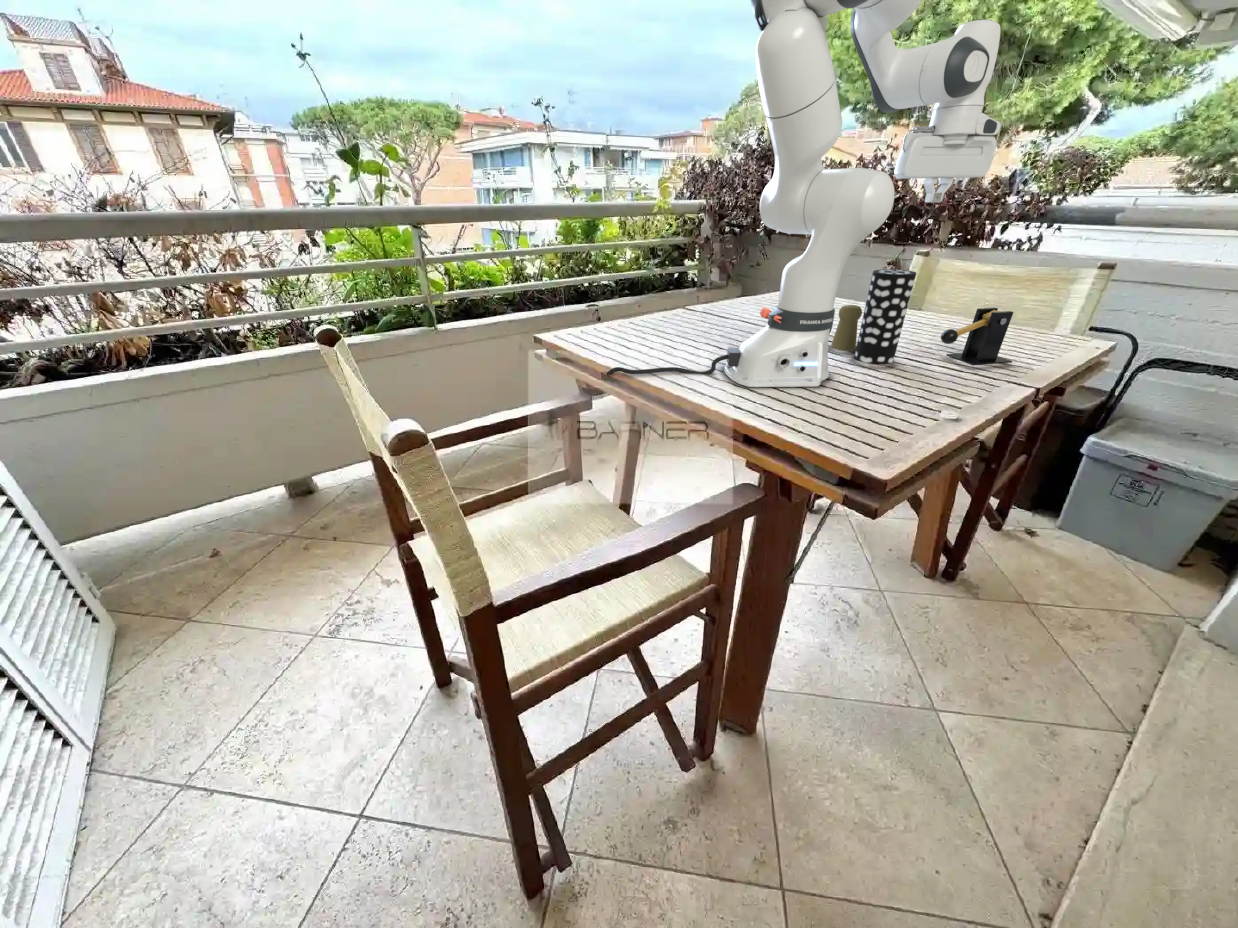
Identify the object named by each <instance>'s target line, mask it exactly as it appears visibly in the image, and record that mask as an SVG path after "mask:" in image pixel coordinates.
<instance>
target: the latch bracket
mask: <svg viewBox="0 0 1238 928" xmlns="http://www.w3.org/2000/svg"><path fill="white" fill-rule="evenodd" d="M993 310H996V311H999V308H998V307H981V308H979V307H978V308H976V311H975V313H974V314H975V315H974V317H973V320H972V323H971V324H973V323H975V322H977V321H980V320H982V315H984V314H986V313H988V312H991V311H993ZM1013 315H1014V311H1012V310H1007V311H1000V312H992V314H991V316H990V319H989V322H988V325H987V326H981V327H979V328H976V329H974V330H972V331H969V332H968V335H967V337H966V338H967V339H966V342H965V345H964V347H963V350H962V352H957V353H955V352H954V353H946V354H945V356H947V357H949V358H952V359H954V360H957V361H960V362H961V363H965V364H968V365H970V366H985V365H995V364H996V365H997V364H1008V363H1010V364H1011V363H1013V360H1010V359H1008V358H1005V357H1002V356H999V353H1000V350H1001V348H1002V345H1003V342H1004V340H1005V337H1006V334H1007V332H1008V329H1009V326H1010V323H1011V321H1012V317H1013Z"/></svg>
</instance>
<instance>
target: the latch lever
mask: <svg viewBox="0 0 1238 928" xmlns="http://www.w3.org/2000/svg"><path fill="white" fill-rule="evenodd" d="M992 312H1001V311H999V310H997V311H996V310H993V311H991V312H988V313H986V314H984V315H982V320H980V321H977V322H975V323H973V322H972V323H973V324H972V323H970V324H968V325H965V326H963V327H961V328H958V329H952V328H948V329H945V330H944V331H943V332H942V333H941V335H940V341H941V342H942V343H943V344H945V345H950V344H954V343H955V342H956V341H957V340H958V338H959V337H960V336H962V335H964V334H966V333H969V332H970V331H972V330H974V329H976V328H979V327H981V326H987V325H988V322H989V319H990V316H991V314H992Z"/></svg>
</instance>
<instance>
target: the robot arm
mask: <svg viewBox="0 0 1238 928" xmlns="http://www.w3.org/2000/svg"><path fill="white" fill-rule="evenodd" d="M921 2H922V0H750V4H751V5H750V6H751V9H752V13H753V15H754V21H755V24H756V26H757V27H758V30H759V31H760V32H761V33H760V35H759V37H758V39H757V43H756V46H755V64H756V75H757V82H758V89H759V95H760V99H761V104H762V109H763V112H764V117H765V120H766V124H767V128H768V132H769V136H770V137H769V138H770V140H771V145H772V150H773V156H774V170H773V174H772V177H771V179H770V180H769V181H768V182H767V184H766V185H765V187H764V189H763V190H762V193H761V196H760V200H759V214H760V215H759V216H760V218H761V219H760V220H761V221H762V223H763V224H764V226H765V227H766V228H768V229H771V230H775V231H777V232H781V233H785V234H790V235H791V234H792V235H810V240H809V242H808V245H807V247H806V249H805V250H804V252H803V253H802V254H801V255H798V256H797V257H795V258H793V259H792V260H790V261H789V262H788V263H786V265H785V266H784V268H783V270H782V273H781V278H780V279H781V280H780V285H779V293H778V301H777V305H776V306H775V308H774V309H772V310H771V309H769V308H767V307H762V308H761V310H759V316H760V317H761V318H763V319H766V320H767V324H765V326H763V327H762V328H760V330H758V331H756V333H754V334H753V335H751V336H750V337H749V338H747V339H745V340H744V341H743V342H741V344H740V345H739V347H727V351H726V354H724V355H721V356H718V357H716V358H714V359H713V360H712V362H711V367H710V369H708V370H704V371H695V370H692V369H687V368H683V367H678V366H677V367H676V366H667V367H655V368H644V369H631V368H626V367H621V366H620V367H619V366H616V367H615V366H614V367H613V368H610V369H609V370H608V371H607V373H606V375H607V376H611V375H612V374H614V373H617V372H620V373H624V374H627V375H645V374H654V373H655V374H656V373H668V372H669V373H670V372H673V373H674V372H676V373H682V374H691V375H692V374H693V375H711V374H713V373H714V372H715V371H716V368H717V367H716V366H717V364H718V363H719V362H721V361H725V360H726V364H725V366H724V370H723V371H724V374H725V375H726V376H727V377H728V378H729V379H730V380H731V381H733V382H734V383H736V384H739V385H741V386H745V387H749V388H786V387H787V388H789V387H790V388H792V387H793V388H796V387H797V388H799V387H804V388H805V387H807V388H808V387H810V388H811V387H819V386H820V385H821V383H822V382H823V381H825V380H826V379H828V378H829V376H830V373H829V363H828V362H829V360H828V356H829V354H828V353H829V342H830V341H829V340H830V334H831V332H832V329H833V325H834V321H835V320H834V319H835V313H836V309H835V308H834V307H835V301H836V297H837V294H838V293H837V292H838V288H839V284H840V280H841V277H842V273H843V270H844V268H845V265H846V263H847V261H848V259H849V257H850V256H851V254H852V253H853V252H854V250H855V249H856V248H857V247H858V245H859V244H860V243H861V242H862V241H863V240H865V239H866V238H867V237H868V236H869V235H871V234H872V233H874V232H875V231H876V230H878V229H879V228H880V227H881V226H882V225H883V224H884V223H885V222H886V220H887V219H888V217H889V216H890V214H891V211H892V209H893V207H894V202H895V195H896V194H895V192H896V191H895V185H894V182H893V179H892V178H891V177H890V175H889V174H888V173H887V172H886V171H882V170H877V169H871V168H867V167H866V168H865V167H847V168H830V169H829V168H825V166H824V165H823V162H822V158H823V157H824V156H825V155H826V154H827V153H828V152H830V151H831V149H832V148H833V147H834V146H835V144H836V143H837V142H838V139H839V137H840V134H841V132H842V127H843V117H842V112H841V105H840V104H841V103H840V99H839V92H838V86H837V81H836V75H835V69H834V64H833V60H832V55H831V52H830V48H829V44H828V41H827V37H826V35H827V26H828V19H829V16H830V15H832V14H836V13H839V12H840V11H843V10H846V9H851V10H852V12H851V16H850V35H851V37H852V41H853V45H854V46H855V50H856V53H857V55H858V57H859V60H860V61H861V64H862V66H863V69H864V72H865V74H866V76H867V79H868V82H869V84H870V91H871V96H872V101H873V102H874V105H875V106H876V107H877V109H878V110H879V111H880V112H881V113H884V114H891V113H895V112H899V111H903V110H905V109H911V108H919V107H923V106H930V105H933V104H934V106H933V107H932V111H931V116H930V120H929V124H928V126H927V125H925V126H919V125H918V126H912V128H910V129H909V130H908V131H907V132H906V133H905V134H904V137H903V140H902V144H901V145H902V146H901V149H900V151H899V153H898V156H897V159H896V163H895V167H894V171H893V174H894V177H895V179H896V180H897V179H901V180H903V179H924V181H923V182H924V183H923V187H924V190H925V198H924V203H942V202H943V200H944V197H945V193H946V192H947V191H948V189H949V188H950V187H951V185H952V184H953V181H954V179H962V178H963V179H964V178H983V177H985V176H986V175H987V174H988V172H989V171H990V168H991V166H992V162H993V159H994V155H995V152H996V146H997V139H996V137H995V136H996V135H998V134H999V133H1000V130H1001V127H1002V123H1001V122H1000V121H999V120H996V119H994V118H992V117H990V116H988V115H987V114H986V113H984V112H983V111H984V110H983V109H984V106H985V94H986V90H987V88H988V87H989V84H990V82H991V80H992V78H993V74H994V70H995V65H996V63H997V57H998V51H999V47H1000V40H1001V25H1000V23H998V21H995V20H993V19H984V18H980V19H973V20H970V21H967V22H964V23H963V24H960V26H958V28H957V29H956V30H955V32H954V34H953V35H952V36H951V37H948V38H946V39H944V40H939V41H937V42H934V43H929V44H925V45H921V46H917V47H912V48H900V47H896V43H895V40H894V37H893V35H892V32H893V31H894V30H896V29H897V28H899V27H900V26H901V25H902V24H904V23H905V22H906V21H907V20H908V19H909V18H910V17H911V15H912V14H913V13H914V12H915V10H917V8H918V6H919V5H920V4H921ZM939 179H940V180H939ZM938 180H939V187H938V189H937V190H936V189H935V185H936V184H938Z"/></svg>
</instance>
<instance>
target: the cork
mask: <svg viewBox="0 0 1238 928" xmlns="http://www.w3.org/2000/svg"><path fill="white" fill-rule="evenodd" d="M862 314H863V310H862V307H861V306H858V305H855V304H845V305H843V306H841V307H840V308H839V310H838V318H839V320H838V322H837V323H838V324H837V327H836V330H835V333H834V335H833V338H832V341H831V344H830V347H831V348H832V349H835V350H840V351H852V350H856V346H857V339H858V338H857V336H858V326H859V325H858V323H859V320H860V319H861V317H862V316H863V315H862Z"/></svg>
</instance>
